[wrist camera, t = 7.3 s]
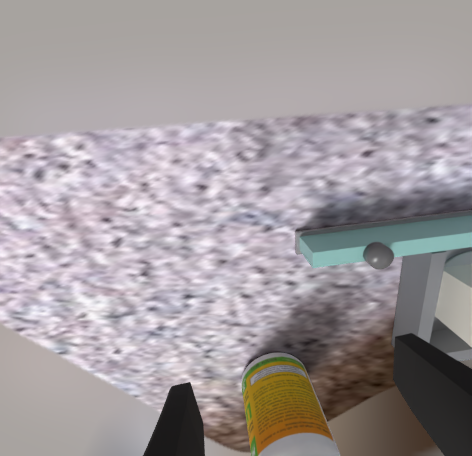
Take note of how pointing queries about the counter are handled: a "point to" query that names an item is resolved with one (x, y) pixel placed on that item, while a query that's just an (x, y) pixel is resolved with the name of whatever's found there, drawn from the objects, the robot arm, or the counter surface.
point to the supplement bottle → (284, 409)
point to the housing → (418, 286)
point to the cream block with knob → (456, 301)
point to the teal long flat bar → (387, 242)
